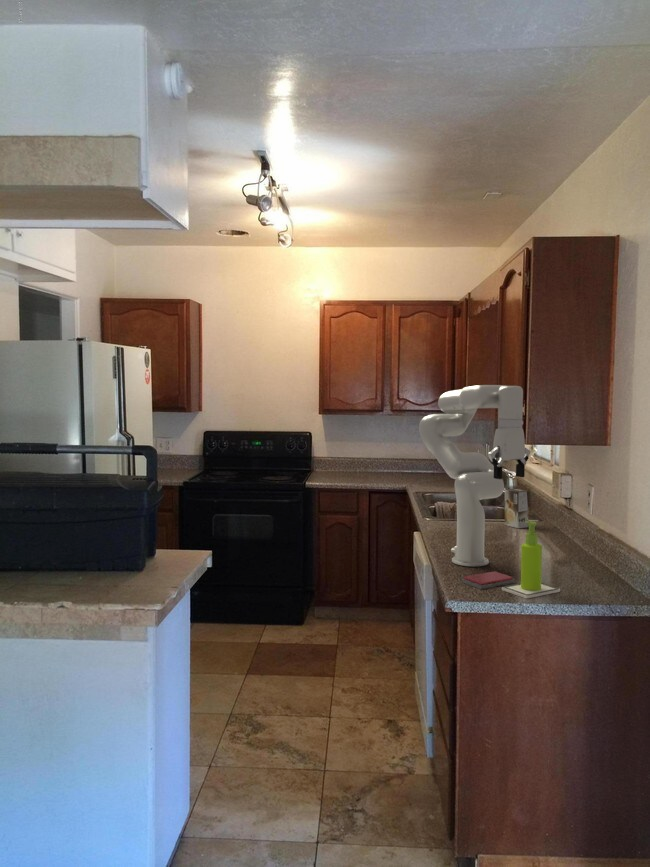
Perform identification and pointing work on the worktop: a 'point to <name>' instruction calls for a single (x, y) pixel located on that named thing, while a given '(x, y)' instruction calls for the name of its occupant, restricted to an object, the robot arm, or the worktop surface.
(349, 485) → the worktop surface
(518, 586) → the marked card
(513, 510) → the coffee box
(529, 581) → the soap dispenser
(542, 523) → the worktop surface
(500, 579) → the ink pad
